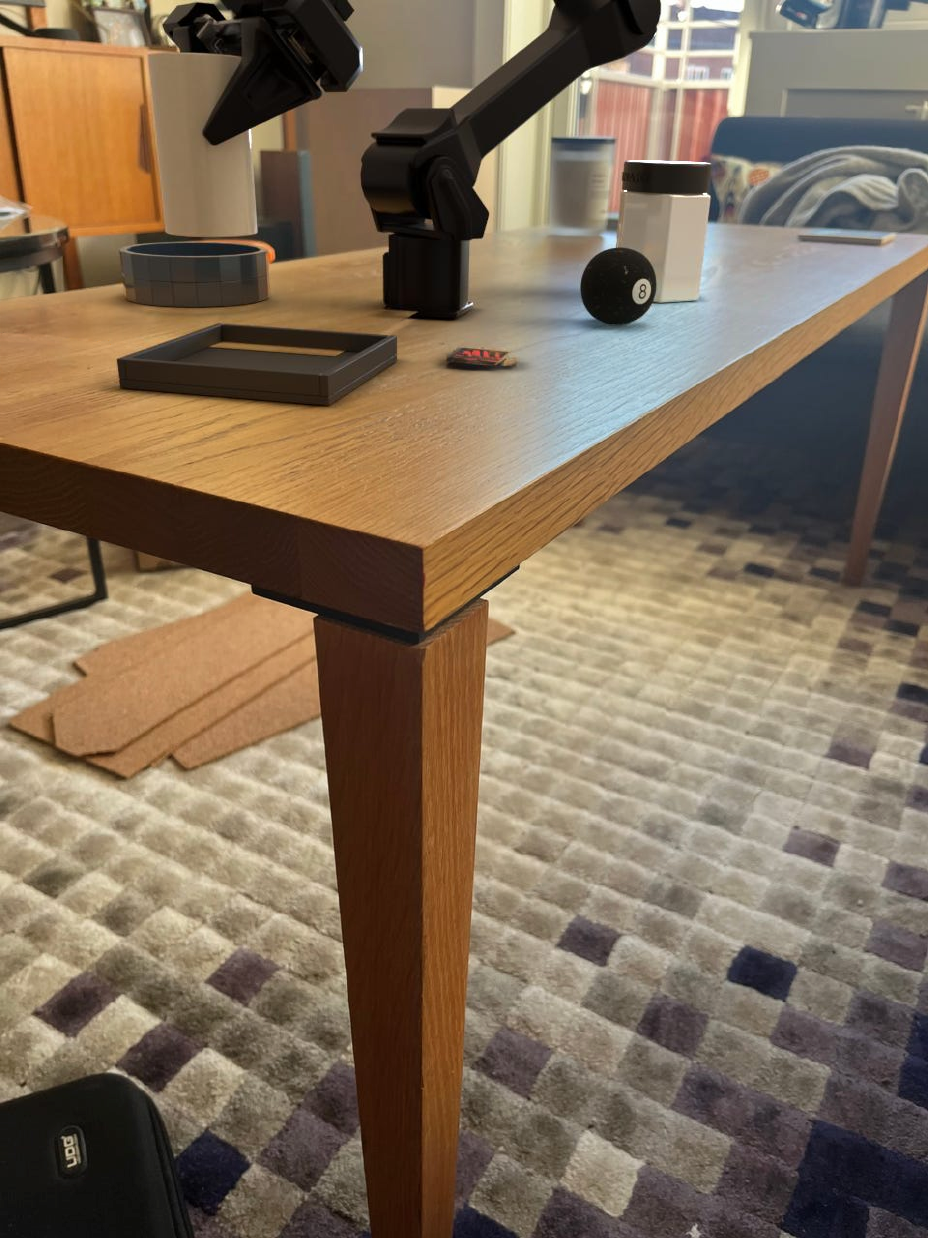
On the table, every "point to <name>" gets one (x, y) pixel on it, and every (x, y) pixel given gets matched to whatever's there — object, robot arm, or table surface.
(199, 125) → the cup
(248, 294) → the bowl
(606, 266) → the billiard ball
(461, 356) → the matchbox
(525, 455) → the table surface
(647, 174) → the jar
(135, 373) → the tray
